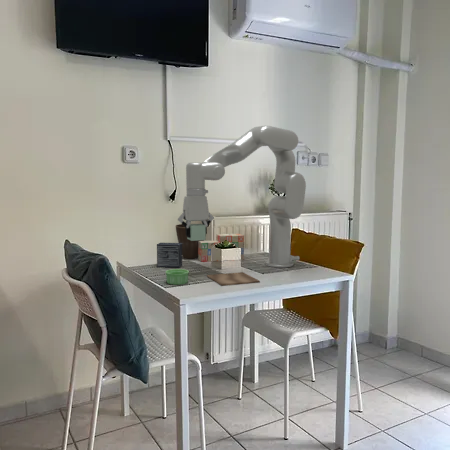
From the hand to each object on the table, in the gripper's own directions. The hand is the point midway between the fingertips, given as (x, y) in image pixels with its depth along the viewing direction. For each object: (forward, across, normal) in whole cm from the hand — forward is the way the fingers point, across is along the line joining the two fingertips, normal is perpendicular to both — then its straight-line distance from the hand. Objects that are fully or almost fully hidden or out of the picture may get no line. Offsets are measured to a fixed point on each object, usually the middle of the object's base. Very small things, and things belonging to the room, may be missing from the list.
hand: (196, 236), depth 187 cm
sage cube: (+1, 0, 0) cm, 1 cm away
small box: (+16, +7, -18) cm, 25 cm away
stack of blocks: (+17, -21, -24) cm, 36 cm away
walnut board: (+16, -10, +14) cm, 24 cm away
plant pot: (+16, -8, -34) cm, 39 cm away
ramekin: (+16, +12, +11) cm, 23 cm away
